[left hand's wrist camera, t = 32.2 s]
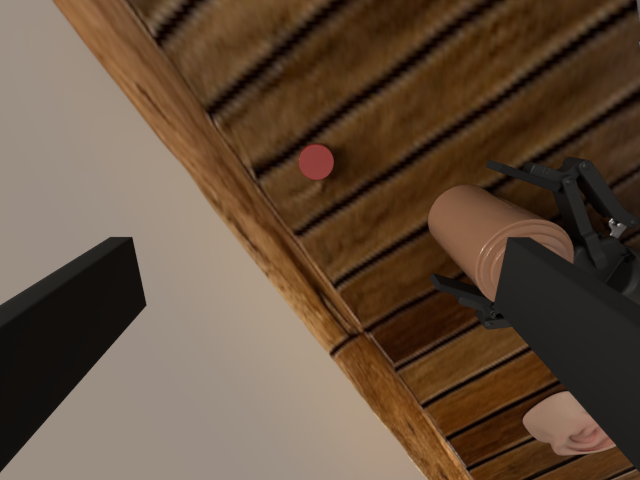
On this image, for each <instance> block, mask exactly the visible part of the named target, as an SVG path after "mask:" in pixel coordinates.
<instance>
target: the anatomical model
mask: <svg viewBox="0 0 640 480" xmlns="http://www.w3.org/2000/svg"><path fill="white" fill-rule="evenodd" d="M523 424H524V426H525V427H526V429H527V430H528V431H529V432H530V434H531V435H532V436H534V437H535V438H536V439H537V440H539V441H541V442H545V443H551V446H552V448H553V450H554V452H555V453H556V454H558V455H576V454H588V453H595V452H600V451H604V450H607V449H610V448H612V447H615V446H616V445H615V444H614V442H613V441H612V440H611V439H610V438H609V437H608V436H607V434H606V433H605V432H604V431H603V430H602V429H601V428H600V426H599V425H598V424H597V423H596V422H595V421H594V420H593V418H592V417H591V416H590V415H589V414H588V413H587V412H586V410H585V409H584V408H583V407H582V406H581V405H580V404H579V402H578V401H577V400H576V399H575V398H574V397H573V396H572V394H571V393H570V392H569V391H565V392H560V393H557V394H554V395H552V396H550V397H548V398H546V399H545V400H543V401H541V402H540V403H539V404H537V405H536V406H534V407H533V408H532V409H531V410H530V411H528V412H527V413H526V415H525V416H524V418H523Z"/></svg>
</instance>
